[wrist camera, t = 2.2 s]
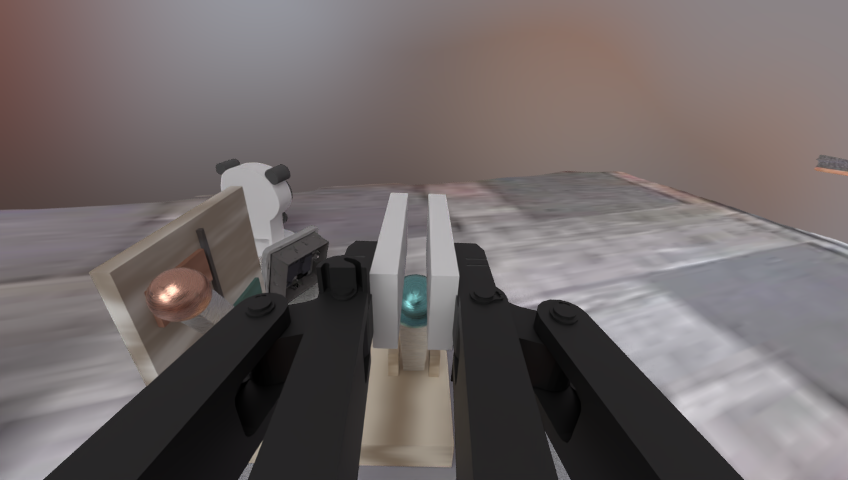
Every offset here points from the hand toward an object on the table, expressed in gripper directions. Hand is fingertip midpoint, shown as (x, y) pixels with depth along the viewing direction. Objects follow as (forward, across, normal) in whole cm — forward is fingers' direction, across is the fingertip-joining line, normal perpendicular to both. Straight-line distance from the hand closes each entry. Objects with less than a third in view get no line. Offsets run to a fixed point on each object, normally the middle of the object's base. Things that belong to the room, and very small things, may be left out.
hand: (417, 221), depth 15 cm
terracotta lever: (+10, -14, -20) cm, 27 cm away
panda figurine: (+41, -28, -24) cm, 56 cm away
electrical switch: (+27, -18, -24) cm, 41 cm away
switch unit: (+10, -8, -24) cm, 27 cm away
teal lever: (+10, 0, -20) cm, 23 cm away
